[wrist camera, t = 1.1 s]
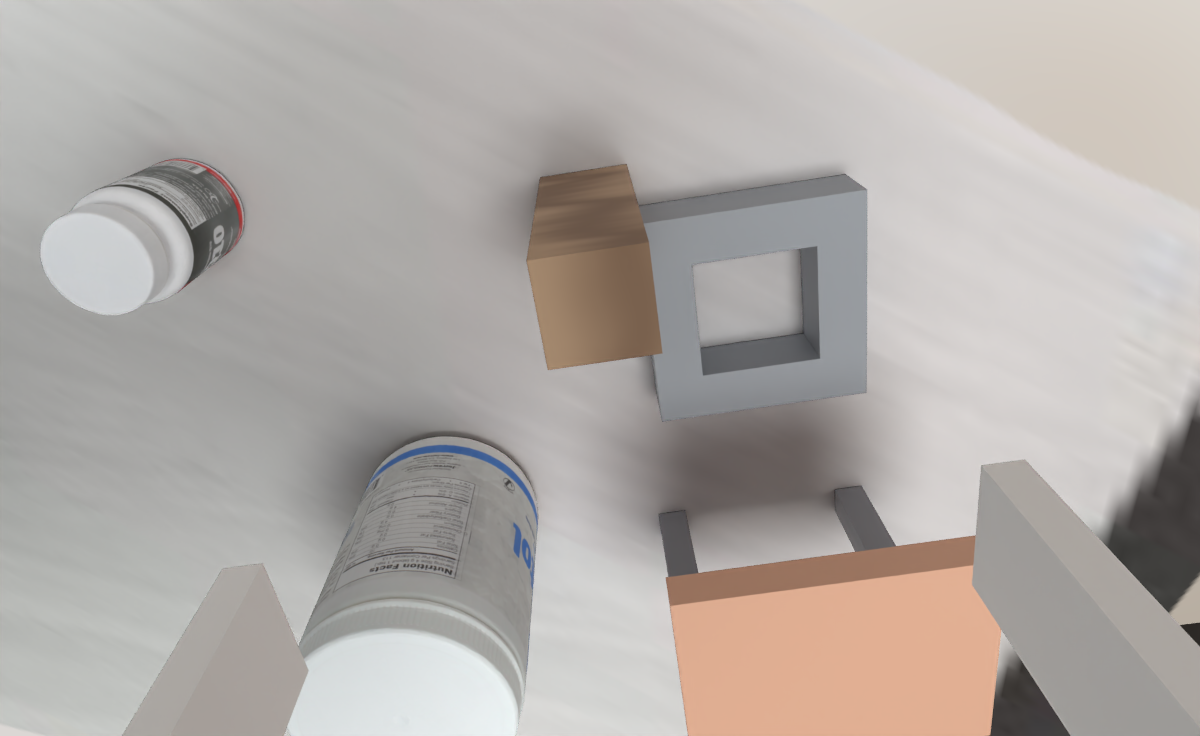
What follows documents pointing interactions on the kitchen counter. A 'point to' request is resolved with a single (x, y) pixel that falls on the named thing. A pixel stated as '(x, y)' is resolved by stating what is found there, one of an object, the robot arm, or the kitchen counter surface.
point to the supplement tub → (426, 601)
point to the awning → (834, 637)
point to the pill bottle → (142, 237)
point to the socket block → (829, 294)
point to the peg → (592, 270)
